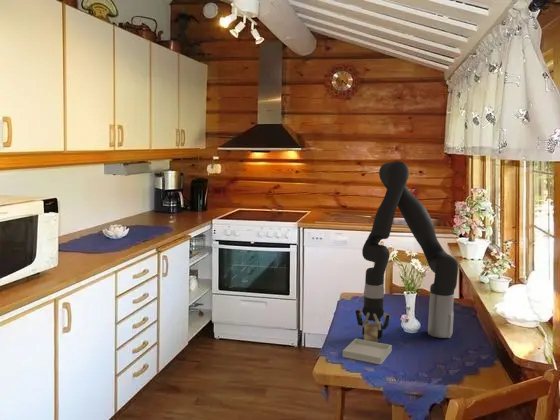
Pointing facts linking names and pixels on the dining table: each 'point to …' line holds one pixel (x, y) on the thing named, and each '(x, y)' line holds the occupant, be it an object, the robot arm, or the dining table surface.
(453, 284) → the robot arm
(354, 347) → the dish
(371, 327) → the birch block
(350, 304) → the dining table surface
